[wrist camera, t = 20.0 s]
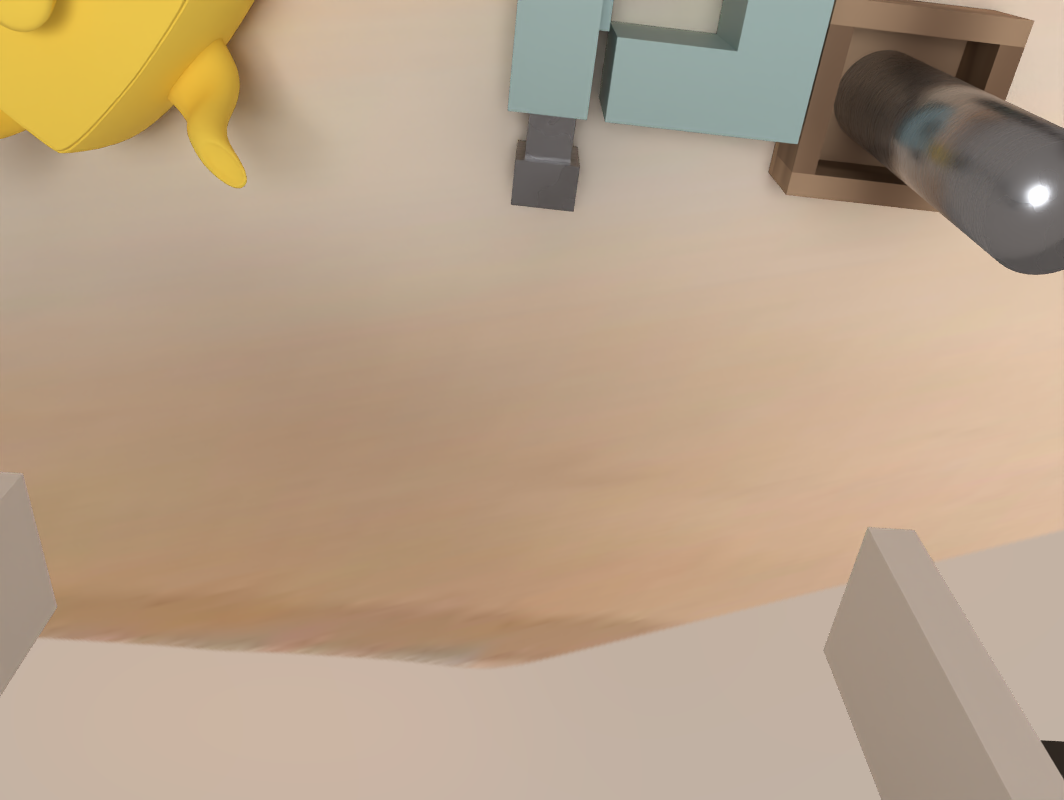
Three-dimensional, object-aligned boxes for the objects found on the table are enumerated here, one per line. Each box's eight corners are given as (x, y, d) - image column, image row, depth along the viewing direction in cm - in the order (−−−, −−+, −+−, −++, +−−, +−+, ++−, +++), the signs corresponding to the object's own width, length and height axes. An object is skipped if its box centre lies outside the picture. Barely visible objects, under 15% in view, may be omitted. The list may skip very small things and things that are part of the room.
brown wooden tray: (768, 172, 42) (786, 194, 39) (813, -12, 38) (837, -4, 35) (932, 190, 42) (963, 214, 39) (994, 10, 38) (1034, 20, 35)
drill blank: (823, 137, 40) (963, 267, 27) (848, 45, 38) (1014, 133, 24) (908, 146, 40) (1092, 281, 27) (938, 55, 38) (1153, 149, 25)
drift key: (513, 182, 42) (510, 204, 39) (536, -52, 37) (535, -47, 34) (571, 188, 42) (573, 211, 39) (602, -43, 37) (607, -38, 34)
